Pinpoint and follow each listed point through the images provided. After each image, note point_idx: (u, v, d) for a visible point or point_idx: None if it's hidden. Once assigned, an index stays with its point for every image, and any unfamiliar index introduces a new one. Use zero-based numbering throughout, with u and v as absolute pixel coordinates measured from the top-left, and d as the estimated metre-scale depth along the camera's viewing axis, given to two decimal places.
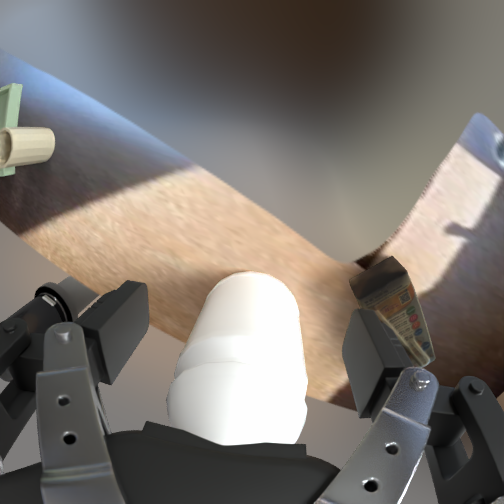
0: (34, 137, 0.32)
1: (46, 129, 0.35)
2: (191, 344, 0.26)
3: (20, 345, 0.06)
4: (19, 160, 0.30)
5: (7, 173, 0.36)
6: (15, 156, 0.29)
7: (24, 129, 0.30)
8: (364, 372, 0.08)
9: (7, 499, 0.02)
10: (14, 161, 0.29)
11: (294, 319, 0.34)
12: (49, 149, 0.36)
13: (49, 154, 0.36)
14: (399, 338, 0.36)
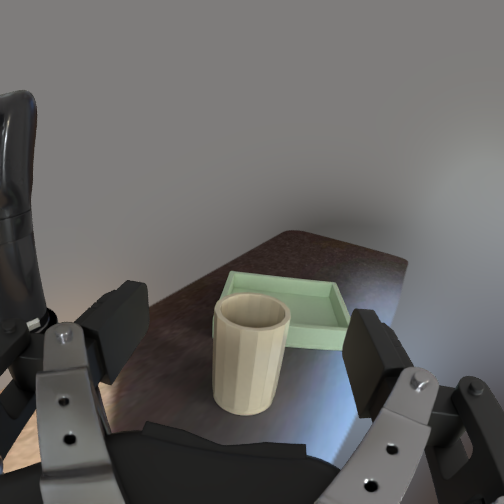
0: (257, 379, 0.22)
1: (269, 400, 0.24)
2: None
3: (20, 345, 0.06)
4: (220, 343, 0.22)
5: None
6: (228, 335, 0.21)
7: (278, 358, 0.23)
8: (364, 372, 0.08)
9: (7, 499, 0.02)
10: (220, 332, 0.22)
11: None
12: (230, 405, 0.23)
13: (222, 403, 0.24)
14: None
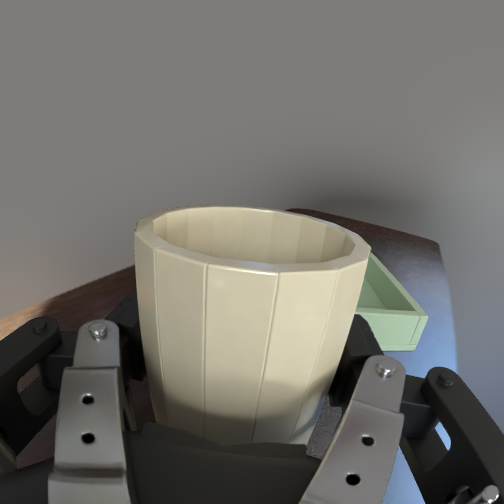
0: (267, 441, 0.06)
1: None
2: None
3: (52, 344, 0.06)
4: (146, 331, 0.06)
5: None
6: (163, 296, 0.06)
7: (331, 377, 0.07)
8: None
9: (7, 499, 0.02)
10: (142, 290, 0.06)
11: None
12: None
13: None
14: None
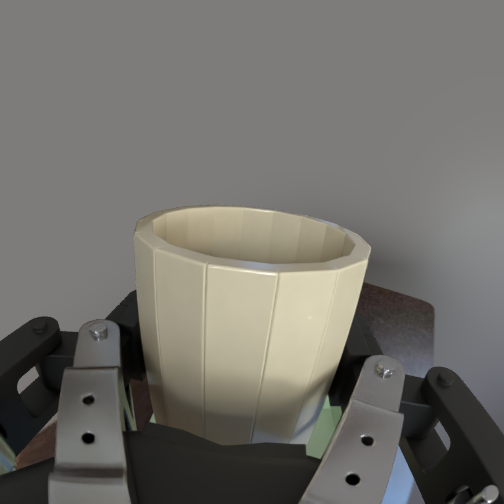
0: (267, 441, 0.06)
1: None
2: None
3: (52, 344, 0.06)
4: (146, 331, 0.06)
5: None
6: (162, 296, 0.06)
7: (331, 377, 0.07)
8: None
9: (7, 499, 0.02)
10: (142, 290, 0.06)
11: None
12: None
13: None
14: None
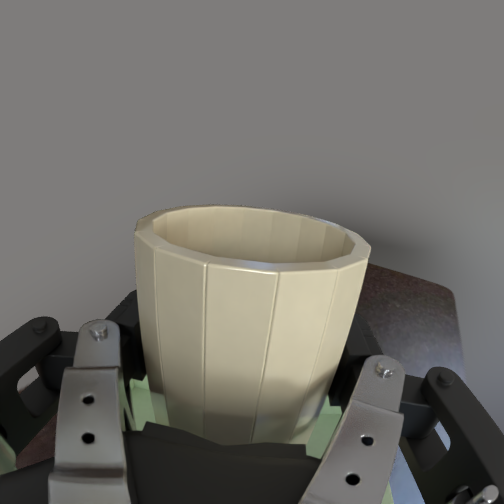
0: (267, 441, 0.06)
1: None
2: None
3: (52, 344, 0.06)
4: (146, 331, 0.06)
5: None
6: (163, 296, 0.06)
7: (331, 377, 0.07)
8: None
9: (7, 499, 0.02)
10: (142, 290, 0.06)
11: None
12: None
13: None
14: None
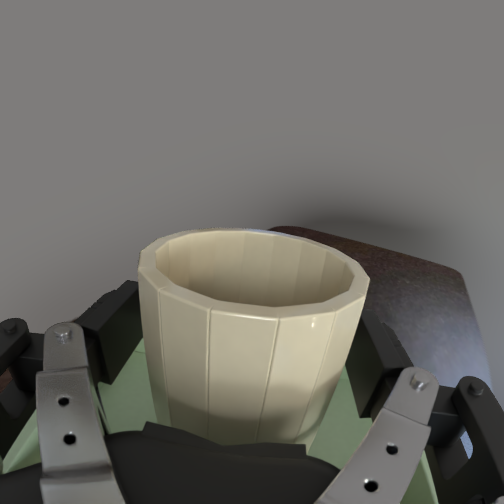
0: None
1: None
2: None
3: (20, 345, 0.06)
4: (152, 360, 0.07)
5: None
6: (167, 333, 0.06)
7: (328, 400, 0.07)
8: (364, 372, 0.08)
9: (7, 499, 0.02)
10: (147, 323, 0.06)
11: None
12: None
13: None
14: None
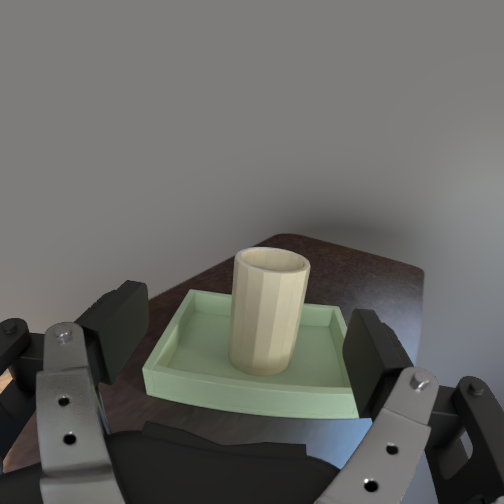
0: (277, 330, 0.23)
1: (287, 360, 0.25)
2: None
3: (20, 345, 0.06)
4: (240, 292, 0.23)
5: (147, 378, 0.20)
6: (250, 280, 0.22)
7: (298, 308, 0.23)
8: (364, 372, 0.08)
9: (7, 499, 0.02)
10: (241, 279, 0.22)
11: None
12: (248, 363, 0.24)
13: (239, 363, 0.24)
14: None
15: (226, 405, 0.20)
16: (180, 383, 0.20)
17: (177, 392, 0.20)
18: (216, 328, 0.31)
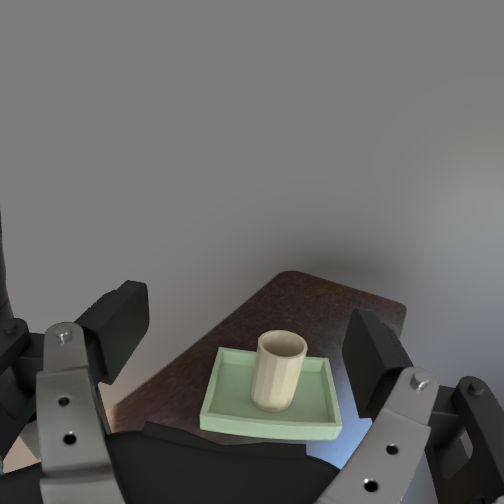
0: (285, 388, 0.33)
1: (291, 401, 0.36)
2: None
3: (20, 345, 0.06)
4: (261, 366, 0.33)
5: (202, 420, 0.31)
6: (268, 361, 0.32)
7: (298, 374, 0.34)
8: (364, 372, 0.08)
9: (7, 499, 0.02)
10: (262, 359, 0.33)
11: None
12: (265, 405, 0.34)
13: (258, 405, 0.35)
14: None
15: (252, 433, 0.31)
16: (224, 422, 0.30)
17: (222, 427, 0.31)
18: (240, 376, 0.41)
